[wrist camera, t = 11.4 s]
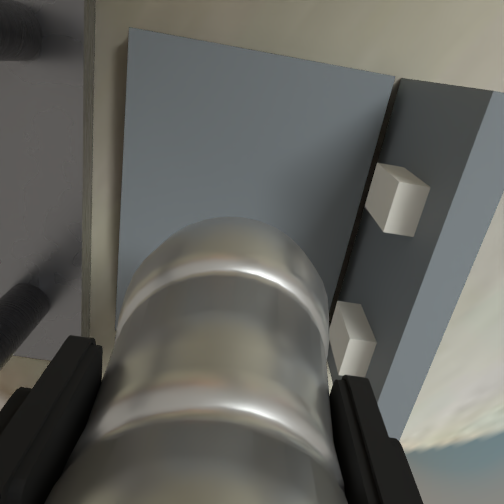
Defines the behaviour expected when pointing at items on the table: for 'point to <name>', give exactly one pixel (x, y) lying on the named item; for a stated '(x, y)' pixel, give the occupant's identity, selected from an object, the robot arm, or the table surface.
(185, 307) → the silver bottle
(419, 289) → the switch board
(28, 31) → the cord gate
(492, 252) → the table surface
